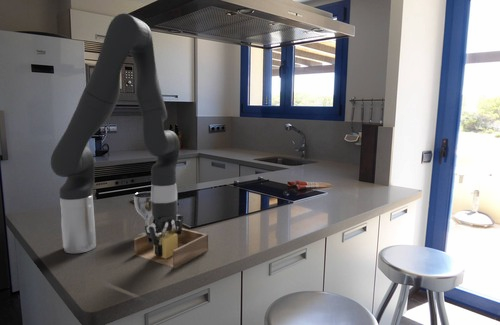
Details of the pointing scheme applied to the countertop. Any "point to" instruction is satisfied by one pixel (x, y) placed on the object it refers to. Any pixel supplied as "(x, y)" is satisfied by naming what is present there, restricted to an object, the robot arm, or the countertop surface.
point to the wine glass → (143, 205)
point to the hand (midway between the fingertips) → (165, 252)
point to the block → (168, 244)
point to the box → (187, 249)
